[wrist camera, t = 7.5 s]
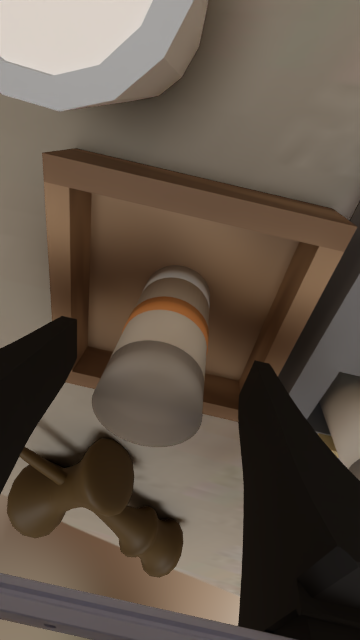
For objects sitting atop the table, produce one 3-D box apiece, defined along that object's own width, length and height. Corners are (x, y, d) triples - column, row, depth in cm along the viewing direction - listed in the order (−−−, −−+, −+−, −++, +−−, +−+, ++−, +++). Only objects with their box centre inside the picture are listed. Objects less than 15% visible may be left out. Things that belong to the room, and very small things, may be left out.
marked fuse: (202, 330, 17) (189, 457, 11) (140, 315, 17) (89, 434, 11) (219, 273, 15) (216, 386, 9) (149, 257, 15) (92, 357, 8)
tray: (248, 388, 20) (252, 425, 18) (76, 348, 20) (55, 380, 18) (332, 208, 13) (357, 226, 11) (75, 148, 13) (42, 152, 11)
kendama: (136, 524, 35) (-1, 430, 27) (205, 508, 32) (73, 395, 23) (124, 590, 30) (-49, 501, 22) (205, 580, 27) (36, 469, 18)
